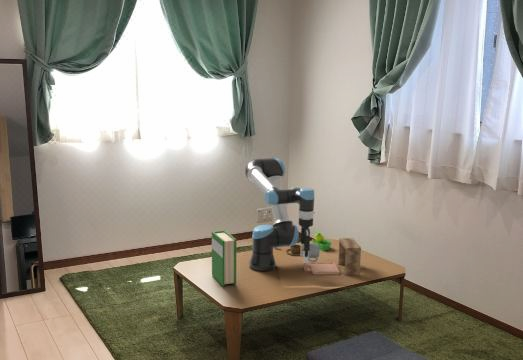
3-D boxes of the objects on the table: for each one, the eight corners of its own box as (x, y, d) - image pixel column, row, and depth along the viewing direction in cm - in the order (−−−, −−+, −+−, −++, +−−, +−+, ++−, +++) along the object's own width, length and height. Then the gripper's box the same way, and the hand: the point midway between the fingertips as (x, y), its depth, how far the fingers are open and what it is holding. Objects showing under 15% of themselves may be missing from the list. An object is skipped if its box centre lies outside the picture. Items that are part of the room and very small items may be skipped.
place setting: (288, 258, 308) (289, 249, 307) (271, 249, 325) (271, 240, 324) (312, 254, 316) (313, 245, 315) (294, 245, 333) (294, 236, 332)
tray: (306, 274, 280) (306, 269, 280) (302, 265, 295) (302, 260, 294) (339, 274, 282) (339, 268, 281) (334, 265, 296) (334, 260, 295)
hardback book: (236, 284, 265) (236, 239, 261) (222, 286, 262) (222, 240, 258) (224, 273, 281) (224, 230, 277) (211, 274, 278) (211, 231, 274)
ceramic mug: (300, 254, 277) (301, 241, 275) (314, 254, 279) (316, 241, 277) (306, 263, 267) (307, 249, 265) (321, 262, 269) (322, 249, 267)
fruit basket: (332, 250, 323) (332, 232, 321) (320, 252, 319) (321, 234, 317) (320, 245, 333) (321, 228, 331) (309, 247, 328) (310, 230, 326)
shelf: (345, 275, 280) (346, 247, 277) (338, 264, 298) (339, 238, 295) (359, 275, 281) (361, 247, 278) (351, 264, 298) (353, 238, 296)
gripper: (316, 224, 258) (314, 266, 263) (309, 212, 280) (308, 251, 284) (301, 223, 258) (300, 266, 262) (296, 212, 279) (294, 251, 284)
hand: (304, 258), depth 273 cm, fingers closed on ceramic mug, 9 cm apart
